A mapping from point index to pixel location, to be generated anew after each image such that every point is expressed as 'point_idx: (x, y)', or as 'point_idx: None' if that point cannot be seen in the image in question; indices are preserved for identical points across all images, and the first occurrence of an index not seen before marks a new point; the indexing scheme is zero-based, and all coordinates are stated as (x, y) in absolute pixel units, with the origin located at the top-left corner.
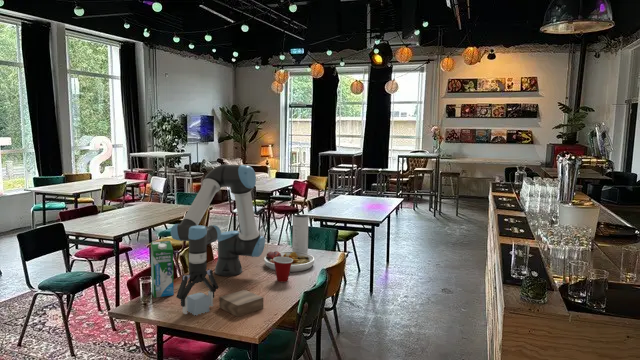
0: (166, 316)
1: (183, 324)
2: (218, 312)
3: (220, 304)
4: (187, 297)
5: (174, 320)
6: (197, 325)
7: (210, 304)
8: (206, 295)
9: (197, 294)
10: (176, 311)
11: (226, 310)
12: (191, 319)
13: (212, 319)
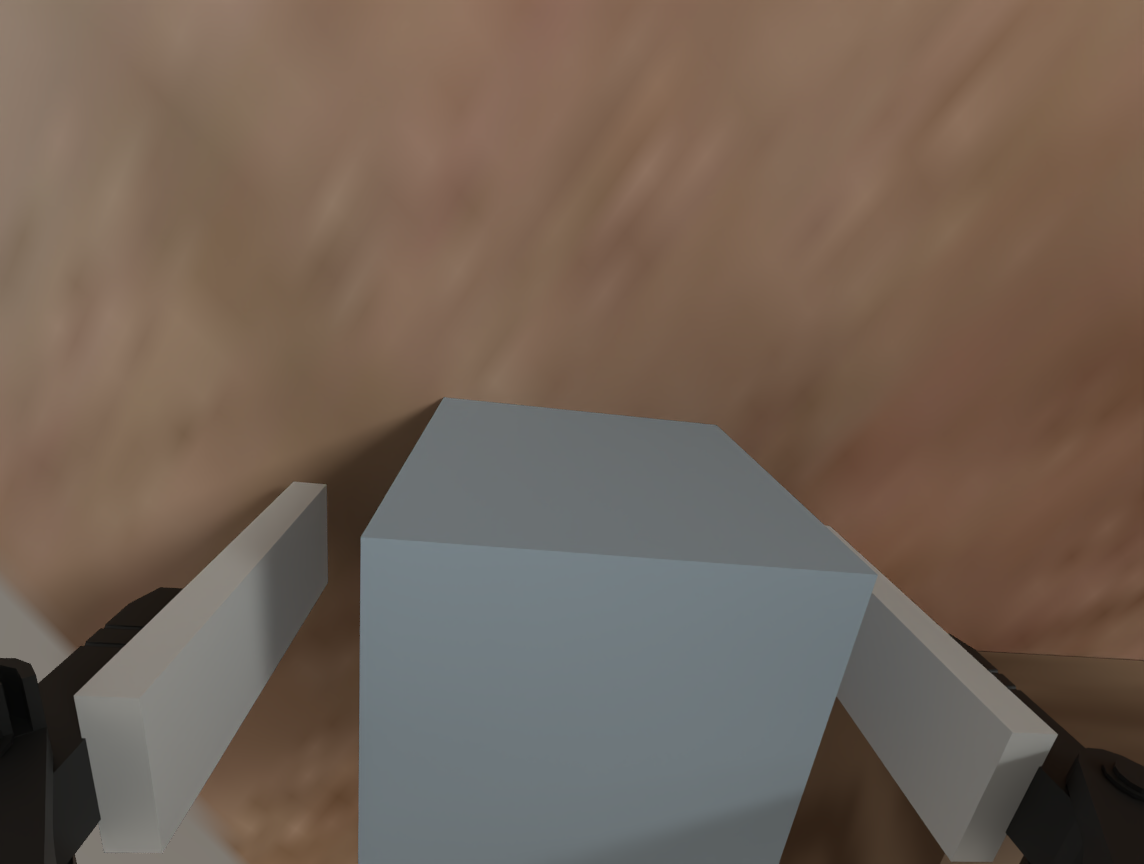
0: (30, 324)
1: None
2: None
3: None
4: (371, 561)
5: (91, 562)
6: (282, 859)
7: None
8: (763, 845)
9: (677, 655)
10: (294, 262)
11: (804, 789)
12: (319, 692)
13: None
